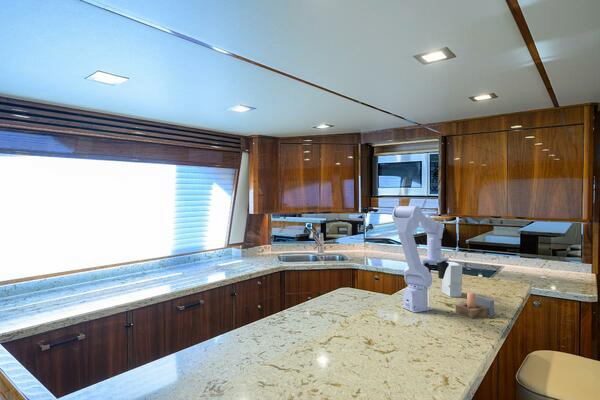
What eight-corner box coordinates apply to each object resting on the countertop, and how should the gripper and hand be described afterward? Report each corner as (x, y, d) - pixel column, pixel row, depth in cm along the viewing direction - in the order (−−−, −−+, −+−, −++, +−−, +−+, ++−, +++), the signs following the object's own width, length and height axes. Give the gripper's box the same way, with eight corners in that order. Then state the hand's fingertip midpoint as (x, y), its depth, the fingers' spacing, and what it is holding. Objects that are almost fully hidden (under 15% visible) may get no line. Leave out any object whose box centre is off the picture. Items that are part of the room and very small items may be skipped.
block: (472, 318, 136) (472, 310, 136) (455, 312, 143) (455, 304, 143) (487, 315, 139) (487, 308, 139) (470, 309, 146) (470, 302, 146)
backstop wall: (490, 316, 138) (490, 300, 138) (469, 308, 147) (469, 294, 147) (494, 315, 138) (493, 300, 138) (472, 308, 148) (472, 293, 148)
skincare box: (441, 292, 172) (441, 261, 172) (453, 292, 173) (453, 261, 173) (450, 297, 164) (450, 264, 164) (463, 296, 164) (462, 264, 164)
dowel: (471, 315, 139) (471, 295, 139) (465, 313, 142) (465, 293, 141) (477, 314, 140) (477, 294, 140) (471, 312, 143) (471, 292, 143)
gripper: (427, 251, 153) (427, 283, 153) (453, 248, 158) (453, 279, 158) (416, 248, 159) (416, 279, 159) (441, 246, 165) (442, 276, 165)
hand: (434, 279), depth 159 cm, fingers open, 7 cm apart
